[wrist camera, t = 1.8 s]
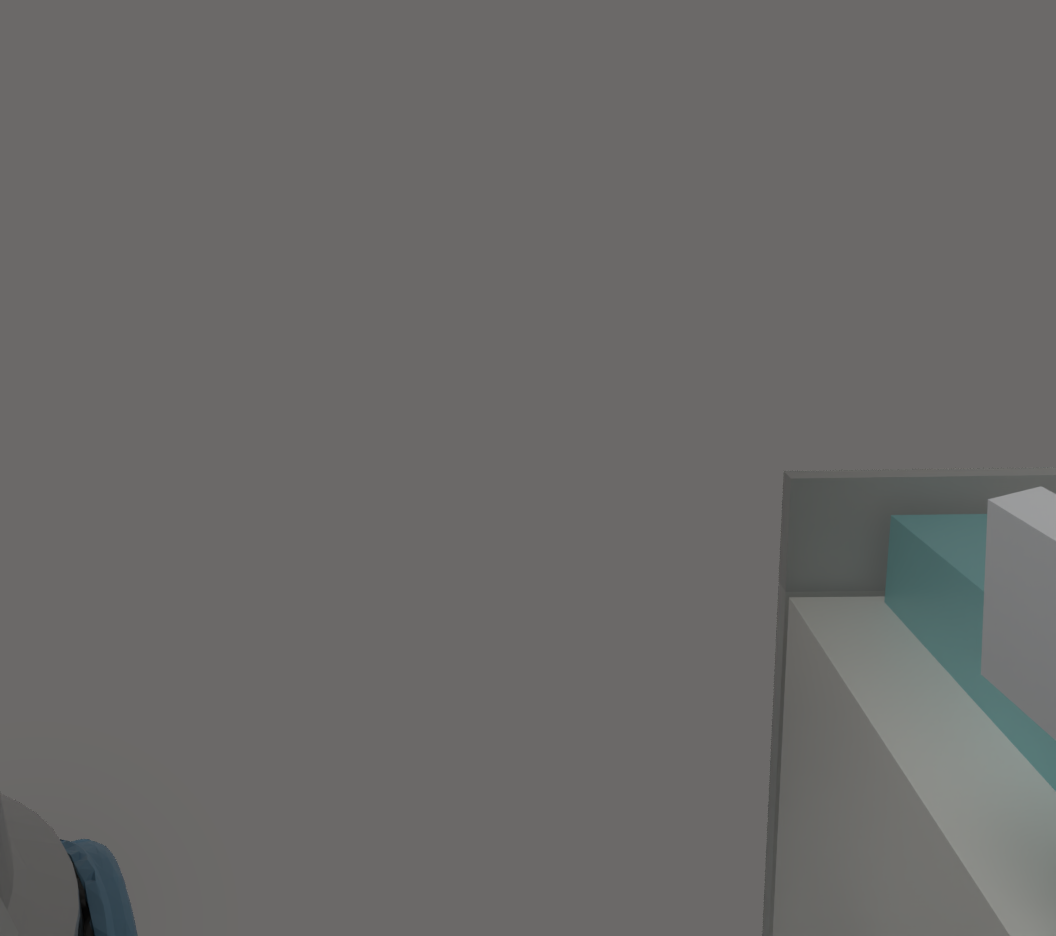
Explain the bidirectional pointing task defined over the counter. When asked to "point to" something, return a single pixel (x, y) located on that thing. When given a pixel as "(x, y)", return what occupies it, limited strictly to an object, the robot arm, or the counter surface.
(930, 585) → the teal notched bar
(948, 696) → the tall gray box
